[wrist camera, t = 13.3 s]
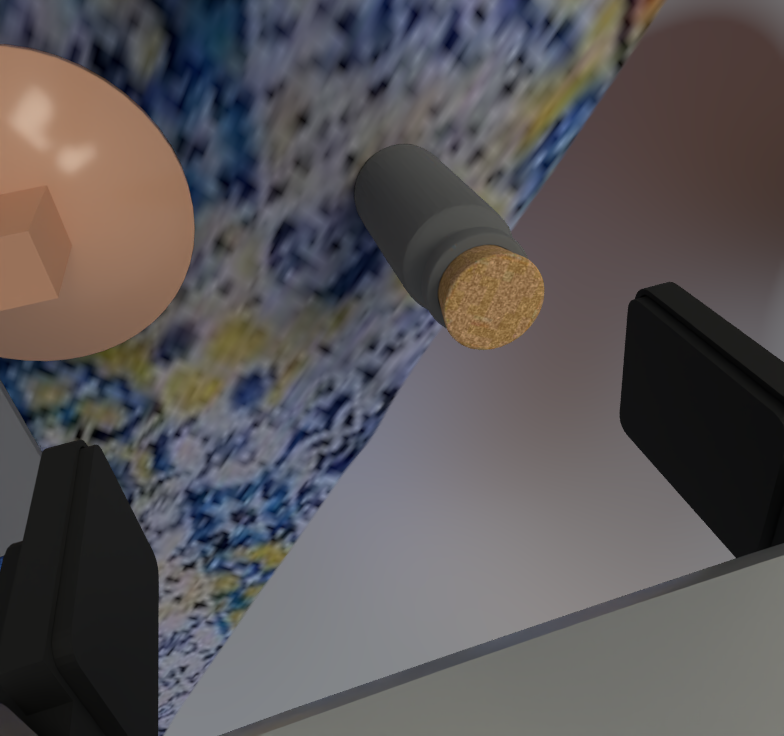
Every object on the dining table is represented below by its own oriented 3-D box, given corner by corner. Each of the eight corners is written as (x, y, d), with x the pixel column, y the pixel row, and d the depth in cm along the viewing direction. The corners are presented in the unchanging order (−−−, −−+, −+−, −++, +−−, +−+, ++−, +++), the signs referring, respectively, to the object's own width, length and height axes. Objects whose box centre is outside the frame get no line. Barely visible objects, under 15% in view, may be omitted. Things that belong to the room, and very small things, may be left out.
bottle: (463, 179, 43) (582, 285, 31) (404, 253, 45) (494, 381, 32) (394, 122, 40) (495, 214, 28) (333, 203, 41) (404, 324, 29)
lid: (-246, 78, 29) (-344, 118, 24) (138, 15, 32) (133, 36, 26) (-61, 382, 38) (-99, 462, 33) (226, 313, 41) (237, 378, 35)
